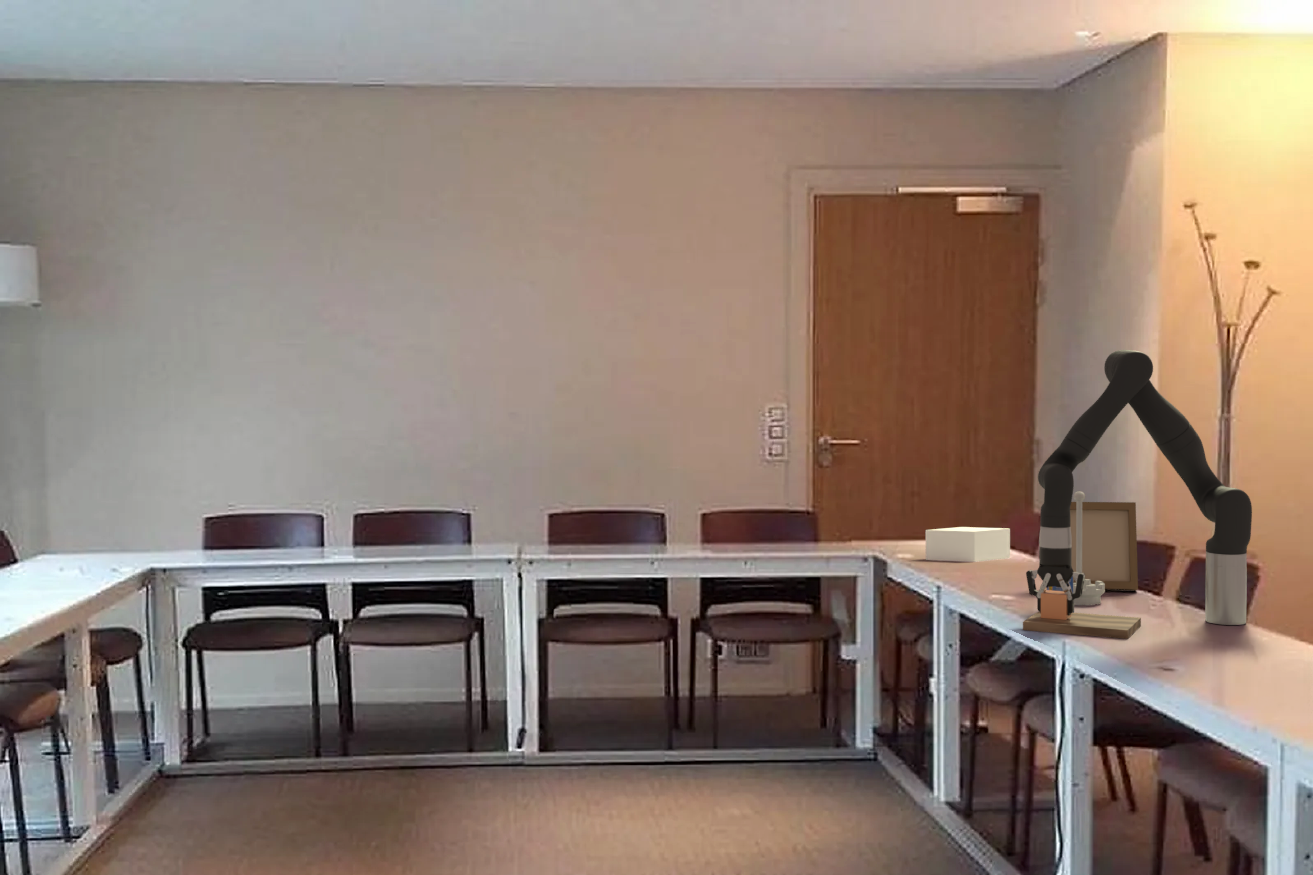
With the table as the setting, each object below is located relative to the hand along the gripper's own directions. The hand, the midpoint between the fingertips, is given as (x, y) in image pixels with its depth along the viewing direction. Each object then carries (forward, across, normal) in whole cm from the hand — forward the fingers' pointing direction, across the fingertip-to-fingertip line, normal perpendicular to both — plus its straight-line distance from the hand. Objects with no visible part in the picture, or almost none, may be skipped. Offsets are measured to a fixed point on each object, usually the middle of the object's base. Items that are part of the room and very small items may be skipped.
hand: (1055, 613), depth 316 cm
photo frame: (+3, +3, -64) cm, 64 cm away
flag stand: (+3, +2, -38) cm, 38 cm away
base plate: (+3, -6, 0) cm, 7 cm away
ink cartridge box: (+3, +3, -18) cm, 19 cm away
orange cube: (+1, 0, -1) cm, 1 cm away
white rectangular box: (+3, +53, -109) cm, 122 cm away
